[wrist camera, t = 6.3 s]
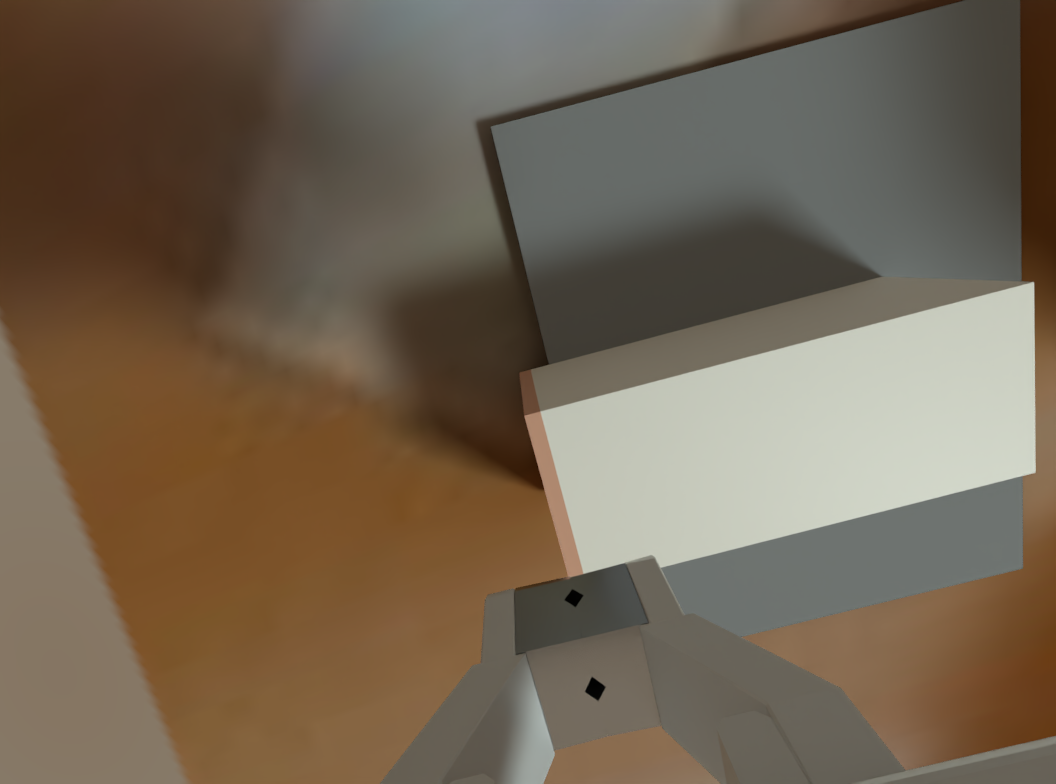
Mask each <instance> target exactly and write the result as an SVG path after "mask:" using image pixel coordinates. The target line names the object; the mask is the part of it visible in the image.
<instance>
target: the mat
mask: <svg viewBox="0 0 1056 784" xmlns="http://www.w3.org/2000/svg"><path fill="white" fill-rule="evenodd" d="M491 132H492V136H493V140H494V144H495V149H496V153H497V157H498V161H499V165H500V169H501V173H502V177H503V181H504V185H505V189H506V193H507V197H508V201H509V205H510V209H511V213H512V218H513V222H514V226H515V230H516V234H517V238H518V242H519V246H520V250H521V254H522V258H523V262H524V266H525V270H526V274H527V278H528V282H529V287H530V291H531V295H532V299H533V303H534V307H535V311H536V315H537V319H538V323H539V327H540V331H541V335H542V339H543V343H544V347H545V351H546V356H547V360H548V364H549V365H550V364H554V363H557V362H561V361H565V360H569V359H572V358H576V357H580V356H584V355H588V354H591V353H595V352H599V351H603V350H606V349H610V348H614V347H618V346H622V345H625V344H629V343H633V342H637V341H640V340H644V339H648V338H652V337H656V336H659V335H663V334H667V333H671V332H675V331H678V330H682V329H686V328H690V327H693V326H697V325H701V324H705V323H709V322H712V321H716V320H720V319H724V318H727V317H731V316H735V315H739V314H743V313H746V312H750V311H754V310H758V309H761V308H765V307H769V306H773V305H777V304H780V303H784V302H788V301H792V300H795V299H799V298H803V297H807V296H811V295H814V294H818V293H822V292H826V291H829V290H833V289H837V288H841V287H845V286H848V285H852V284H856V283H860V282H863V281H867V280H871V279H875V278H879V277H908V278H937V279H965V280H993V281H1021V79H1020V0H964V1H960V2H957V3H953V4H949V5H945V6H942V7H938V8H934V9H930V10H927V11H923V12H919V13H915V14H912V15H908V16H904V17H900V18H897V19H893V20H889V21H885V22H882V23H878V24H874V25H870V26H867V27H863V28H859V29H855V30H852V31H848V32H844V33H840V34H837V35H833V36H829V37H825V38H822V39H818V40H814V41H810V42H807V43H803V44H799V45H795V46H792V47H788V48H784V49H780V50H777V51H773V52H769V53H765V54H762V55H758V56H754V57H750V58H747V59H743V60H739V61H735V62H732V63H728V64H724V65H720V66H717V67H713V68H709V69H705V70H702V71H698V72H694V73H690V74H686V75H683V76H679V77H675V78H671V79H668V80H664V81H660V82H656V83H653V84H649V85H645V86H641V87H638V88H634V89H630V90H626V91H623V92H619V93H615V94H611V95H608V96H604V97H600V98H596V99H593V100H589V101H585V102H581V103H578V104H574V105H570V106H566V107H563V108H559V109H555V110H551V111H548V112H544V113H540V114H536V115H533V116H529V117H525V118H521V119H518V120H514V121H510V122H506V123H503V124H499V125H495V126H491ZM1021 282H1022V281H1021ZM661 569H662V571H663V573H664V575H665V577H666V579H667V581H668V583H669V585H670V587H671V589H672V591H673V593H674V595H675V597H676V599H677V601H678V603H679V605H680V607H681V609H682V611H683V612H684V614H685V615H687V614H692V613H694V614H696V615H698V616H700V617H702V618H704V619H706V620H708V621H710V622H712V623H714V624H716V625H718V626H720V627H722V628H724V629H726V630H728V631H730V632H732V633H734V634H736V635H738V636H739V637H742V636H747V635H751V634H755V633H759V632H763V631H767V630H771V629H775V628H780V627H784V626H788V625H792V624H796V623H800V622H804V621H808V620H812V619H817V618H821V617H825V616H829V615H833V614H837V613H841V612H845V611H850V610H854V609H858V608H862V607H866V606H870V605H874V604H878V603H883V602H887V601H891V600H895V599H899V598H903V597H907V596H911V595H916V594H920V593H924V592H928V591H932V590H936V589H940V588H944V587H949V586H953V585H957V584H961V583H965V582H969V581H973V580H977V579H982V578H986V577H990V576H994V575H998V574H1002V573H1006V572H1010V571H1014V570H1019V569H1023V482H1022V476H1020V477H1016V478H1012V479H1008V480H1004V481H1001V482H997V483H993V484H989V485H985V486H981V487H977V488H973V489H969V490H965V491H961V492H957V493H953V494H949V495H945V496H941V497H938V498H934V499H930V500H926V501H922V502H918V503H914V504H910V505H906V506H902V507H898V508H894V509H890V510H886V511H882V512H878V513H875V514H871V515H867V516H863V517H859V518H855V519H851V520H847V521H843V522H839V523H835V524H831V525H827V526H823V527H819V528H815V529H811V530H808V531H804V532H800V533H796V534H792V535H788V536H784V537H780V538H776V539H772V540H768V541H764V542H760V543H756V544H752V545H748V546H745V547H741V548H737V549H733V550H729V551H725V552H721V553H717V554H713V555H709V556H705V557H701V558H697V559H693V560H689V561H685V562H682V563H678V564H674V565H670V566H666V567H662V568H661Z"/></svg>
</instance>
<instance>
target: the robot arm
mask: <svg viewBox="0 0 1056 784" xmlns="http://www.w3.org/2000/svg"><path fill="white" fill-rule="evenodd" d="M657 726H662V728H663V729H664V730H665V731H666V732H667V733H668V734H669V735H670V736H671V737H672V738H673V739H674V740H675V741H676V742H677V743H679V744H680V745H681V746H682V747H683V748H684V749H685V750H686V751H687V752H688V753H689V754H690V755H691V756H692V757H693V758H694V759H696V760H697V761H698V762H699V763H700V764H701V765H702V766H703V767H704V768H705V769H706V770H707V771H708V772H709V773H710V774H711V775H713V776H714V777H715V778H716V779H717V780H718V781H719V782H720V783H721V784H1056V736H1053V737H1049V738H1044V739H1040V740H1036V741H1031V742H1027V743H1023V744H1019V745H1014V746H1010V747H1006V748H1001V749H997V750H993V751H988V752H984V753H980V754H975V755H971V756H967V757H962V758H958V759H954V760H949V761H945V762H941V763H936V764H932V765H928V766H923V767H919V768H915V769H910V770H905V769H904V768H903V767H902V765H901V764H900V763H899V761H898V760H897V759H896V758H895V756H894V755H893V754H892V753H891V751H890V750H889V749H888V747H887V746H886V745H885V744H884V742H883V741H882V740H881V739H880V737H879V736H878V735H877V733H876V732H875V731H874V730H873V728H872V727H871V726H870V725H869V723H868V722H867V721H866V719H865V718H864V717H863V716H862V714H861V713H860V712H859V711H858V709H857V708H856V707H855V705H854V704H853V703H852V702H851V700H850V699H849V698H848V697H847V695H846V694H845V693H844V691H843V690H842V689H841V688H840V687H838V686H836V685H834V684H832V683H830V682H828V681H826V680H824V679H822V678H820V677H818V676H816V675H814V674H812V673H810V672H808V671H806V670H804V669H802V668H800V667H798V666H796V665H794V664H792V663H791V662H789V661H787V660H785V659H783V658H781V657H779V656H777V655H775V654H773V653H771V652H769V651H767V650H765V649H763V648H761V647H759V646H757V645H755V644H753V643H751V642H749V641H747V640H745V639H743V638H741V637H739V636H738V635H736V634H734V633H732V632H730V631H728V630H726V629H724V628H722V627H720V626H718V625H716V624H714V623H712V622H710V621H708V620H706V619H704V618H702V617H700V616H698V615H696V614H694V613H692V614H687V615H685V614H684V612H683V611H682V609H681V607H680V605H679V603H678V601H677V599H676V597H675V595H674V593H673V591H672V589H671V587H670V585H669V583H668V581H667V579H666V577H665V575H664V573H663V571H662V569H661V568H660V566H659V564H658V562H657V560H656V558H655V557H654V556H653V555H649V556H646V557H642V558H639V559H635V560H631V561H628V562H625V563H623V564H619V565H615V566H611V567H607V568H603V569H599V570H596V571H592V572H588V573H584V574H580V575H576V576H572V577H570V576H569V577H564V578H560V579H555V580H551V581H546V582H541V583H537V584H532V585H528V586H523V587H518V588H516V589H509V590H505V591H501V592H497V593H493V594H489V595H487V597H486V599H485V606H484V621H483V636H482V651H481V664H477V665H473V666H472V667H471V668H470V669H469V670H468V672H467V673H466V674H465V676H464V677H463V678H462V679H461V681H460V682H459V683H458V684H457V686H456V687H455V688H454V690H453V691H452V692H451V693H450V695H449V696H448V697H447V699H446V700H445V701H444V702H443V704H442V705H441V706H440V707H439V709H438V710H437V711H436V713H435V714H434V715H433V716H432V718H431V719H430V720H429V722H428V723H427V724H426V725H425V727H424V728H423V729H422V730H421V732H420V733H419V734H418V736H417V737H416V738H415V739H414V741H413V742H412V743H411V745H410V746H409V747H408V748H407V750H406V751H405V752H404V754H403V755H402V756H401V757H400V759H399V760H398V761H397V762H396V764H395V765H394V766H393V768H392V769H391V770H390V771H389V773H388V774H387V775H386V777H385V778H384V779H383V780H382V782H381V783H380V784H543V783H544V780H545V778H546V775H547V773H548V770H549V768H550V765H551V763H552V760H553V758H554V755H555V753H554V751H555V750H558V749H562V748H566V747H570V746H573V745H577V744H581V743H585V742H588V741H592V740H596V739H600V738H603V737H607V736H612V735H617V734H622V733H627V732H632V731H637V730H642V729H647V728H652V727H657Z"/></svg>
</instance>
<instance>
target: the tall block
mask: <svg viewBox="0 0 1056 784" xmlns="http://www.w3.org/2000/svg"><path fill="white" fill-rule="evenodd" d="M519 376H520V384H521V393H522V401H523V409H524V417H525V420H526V424H527V428H528V431H529V435H530V438H531V442H532V446H533V449H534V453H535V457H536V460H537V464H538V467H539V471H540V475H541V478H542V482H543V486H544V489H545V493H546V497H547V500H548V504H549V507H550V511H551V515H552V518H553V522H554V526H555V529H556V533H557V537H558V540H559V544H560V547H561V551H562V555H563V558H564V562H565V566H566V569H567V573H568V577H569V576H570V577H572V576H576V575H580V574H584V573H588V572H592V571H596V570H599V569H603V568H607V567H611V566H615V565H619V564H623V563H625V562H628V561H631V560H635V559H639V558H642V557H646V556H649V555H653V556H654V557H655V558H656V560H657V562H658V564H659V566H660V568H662V567H666V566H670V565H674V564H678V563H682V562H685V561H689V560H693V559H697V558H701V557H705V556H709V555H713V554H717V553H721V552H725V551H729V550H733V549H737V548H741V547H745V546H748V545H752V544H756V543H760V542H764V541H768V540H772V539H776V538H780V537H784V536H788V535H792V534H796V533H800V532H804V531H808V530H811V529H815V528H819V527H823V526H827V525H831V524H835V523H839V522H843V521H847V520H851V519H855V518H859V517H863V516H867V515H871V514H875V513H878V512H882V511H886V510H890V509H894V508H898V507H902V506H906V505H910V504H914V503H918V502H922V501H926V500H930V499H934V498H938V497H941V496H945V495H949V494H953V493H957V492H961V491H965V490H969V489H973V488H977V487H981V486H985V485H989V484H993V483H997V482H1001V481H1004V480H1008V479H1012V478H1016V477H1020V476H1024V475H1028V474H1032V473H1035V336H1034V282H1021V281H993V280H965V279H937V278H908V277H879V278H875V279H871V280H867V281H863V282H860V283H856V284H852V285H848V286H845V287H841V288H837V289H833V290H829V291H826V292H822V293H818V294H814V295H811V296H807V297H803V298H799V299H795V300H792V301H788V302H784V303H780V304H777V305H773V306H769V307H765V308H761V309H758V310H754V311H750V312H746V313H743V314H739V315H735V316H731V317H727V318H724V319H720V320H716V321H712V322H709V323H705V324H701V325H697V326H693V327H690V328H686V329H682V330H678V331H675V332H671V333H667V334H663V335H659V336H656V337H652V338H648V339H644V340H640V341H637V342H633V343H629V344H625V345H622V346H618V347H614V348H610V349H606V350H603V351H599V352H595V353H591V354H588V355H584V356H580V357H576V358H572V359H569V360H565V361H561V362H557V363H554V364H550V365H546V366H542V367H538V368H535V369H531V370H527V371H523V372H520V373H519Z"/></svg>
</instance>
